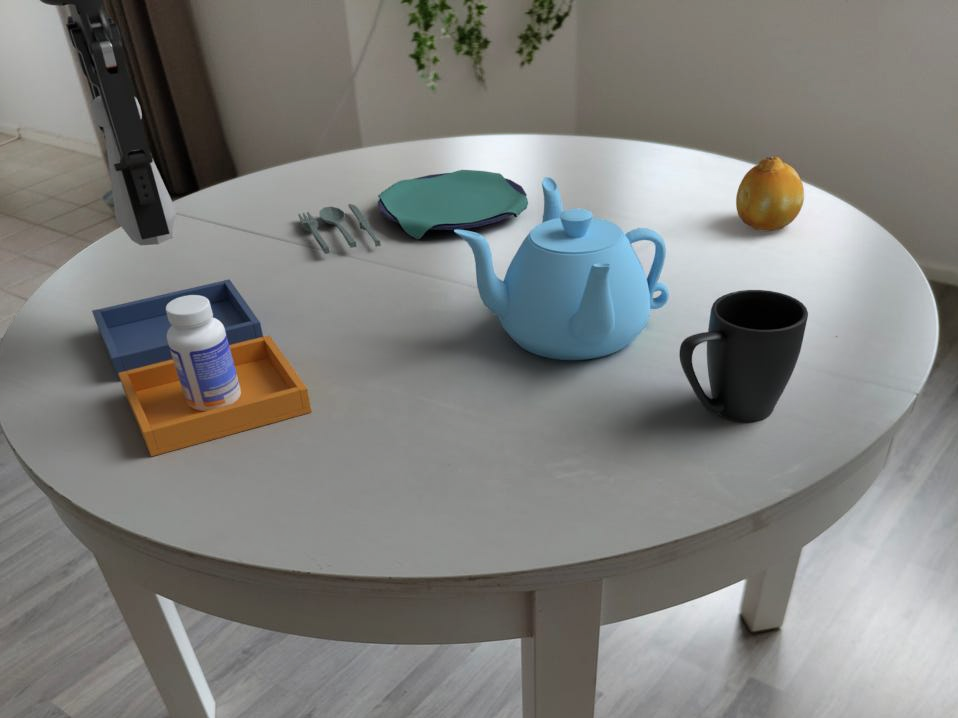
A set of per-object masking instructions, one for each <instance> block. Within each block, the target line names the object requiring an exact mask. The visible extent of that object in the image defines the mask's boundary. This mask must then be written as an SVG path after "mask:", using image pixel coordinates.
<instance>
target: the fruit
mask: <svg viewBox="0 0 958 718" xmlns="http://www.w3.org/2000/svg"><path fill="white" fill-rule="evenodd" d="M804 200H805V190H804V184H803V181H802V179H801V177H800V175H799V173H798V172H797V171H796V170H795V168H794V167H792V166H791V165H790V164H788V163H786V162H783V161H782V160H781V158H780V157H778V156H774V157H773V156H770V157H766V158H764V159H761V160H760V161H759V162H758V164H756V165H754V166H753V167H751V168H750V169H749V170H748V171H747V172H746V173H745V175H744V176H743V178H742V179H741V181H740V184H739V186H738V189H737V191H736V197H735V207H736V208H735V209H736V211H737V215H738V216H739V218H740V220H741V221H742V222H743V223H744V224H745V225H747V226H748V227H750V228H752V229H753V230H756V231H761V232H772V231H776V230H777V231H778V230H781V229H784V228H785V227H787V226H789V225H790V224H792V222H794V220H795V219H796V218H797V217H798V215H799V214H800V212H801V210H802V207H803V205H804Z"/></svg>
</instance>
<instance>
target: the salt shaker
mask: <svg viewBox="0 0 958 718" xmlns="http://www.w3.org/2000/svg"><path fill="white" fill-rule="evenodd" d="M135 100H136V104H137V107H138V111H139V115H140V118H141V120H142V118H143V117H142V116H143V114H142V109H141V105H140V103H139V101H138V98H137V97H135ZM90 106H91V113H92V115H93V119H94V121H95V122H96V124H97V125H98V127H99V126H101V127H104V130H105V134H104V135H105V138H106V141H105V146H106V153H107V154H106V155H107V161H108V169H109V176H110V177H109V178H110V185H111V192H112V200H113V206H114V207H113V208H114V216H115V219H116V221H117V223H118V224H119V226H120V227H121V228H122V229H123V231H124V232H125V233H126V235H127V236H128V238H129V239H130V241H132V242H133V243H135V244H137V245H139V246H153V245H160V244H163V243H164V242H167V241H169V240H171V239H173V234H174V233H173V232H174V226H175V221H176V216H177V211H176V207H175V205H174V203H173V200H172V198H171V195H170V194H169V192H168V189H167V186H166V185H165V183H164V180H163V178H162V176H161V173H160V171H159V169H158V168H157V165H156V163H155V160H153V161H152V163H151V167H152V171H153V174H154V178H155V182H156V185H157V189H158V193H159V196H160V200H161V203H162V207H163V211H164V214H165V218H166V222H167V225H168V229H169V233H170V234H167V235H162V236H157V237H153V238H148V239H143V240H142V238H141V235H140V232H139V229H138V225H137V222H136V219H135V215H134V212H133V208H132V205H131V202H130V198H129V195H128V191H127V188H126V185H125V181H124V178H123V175H122V171H116V170H115V167H114V164H117V163H120V156H119V153H118V150H117V147H116V144H115V141H114V138H113V134H112V131H111V128H110V125H109V122H108V119H107V116H106V113H105V109H104V106H103V103H102V100H101V97H100V96H98V97H96V98H95V99H94V100H92V102H91V104H90ZM105 138H104V139H105ZM135 151H136V150H135ZM130 152H131V151H130Z"/></svg>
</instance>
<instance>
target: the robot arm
mask: <svg viewBox="0 0 958 718" xmlns="http://www.w3.org/2000/svg"><path fill="white" fill-rule="evenodd" d="M39 2H41V3H43V4H45V5H49V6H57V7H59V6H60V7H61V6H62V7H63V6H66V5H68V8H69V12H70V15H68V16H67V23H66V24H65V26H66V30H67V34H68V38H69V39H70V42H71V43H72V46H73V47H74V49H75V52H76V55H77V59H78V62H79V63H78V64H79V67H80V68H81V71H82V73H83V75H84V76H85V80H86V82H87V86H88V89H89V93H90V96H91V100H92V101H93V100H94V99H95V98H96V97H98V96H100V97H101V100H102V103H103V106H104V109H105V113H106V116H107V119H108V122H109V125H110V128H111V131H112V134H113V138H114V141H115V144H116V147H117V150H118V153H119V156H120V163H117V164H114V167H115V170H116V171H122V175H123V178H124V181H125V185H126V188H127V191H128V195H129V198H130V202H131V205H132V208H133V212H134V215H135V219H136V222H137V225H138V229H139V232H140V235H141V238H142V240H143V239H148V238H153V237H157V236H162V235H167V234H170V233H169V229H168V225H167V222H166V218H165V214H164V211H163V207H162V203H161V200H160V196H159V193H158V189H157V185H156V182H155V178H154V174H153V171H152V167H151V163H152V161H154V157H153V154H152V152H151V149H150V147H149V143H148V140H147V136H146V133H145V130H144V125H143V122H142V119H141V118H140V115H139V111H138V107H137V104H136V100H135V98H136V96H135V94H134V89H133V86H132V83H131V79H130V71H129V69H128V66H127V63H126V59H125V56H124V52H123V51H124V46H123V39H122V36H121V33H120V28H119V27H118V24H117V22H113V19H112V17H108V16H107V13H106V10H105V8H104V4H103V3H104V2H106V0H39ZM98 128H99V130H100V131H101V133H102V134H104V135H103V139H104V141H105V142H106V138H105V130H104V127H101V126H99V125H98ZM135 150H136V151H135ZM130 151H131V152H130Z"/></svg>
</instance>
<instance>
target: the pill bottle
mask: <svg viewBox="0 0 958 718" xmlns="http://www.w3.org/2000/svg"><path fill="white" fill-rule="evenodd" d="M166 313H167V316H168V321H169V322H170V324H171V325H172V326H171V327H170V328H169V330H168V332H167V341H168V345H169V348H170V351H171V355H172V358H173V361H174V364H175V368H176V371H177V374H178V377H179V381H180V384H181V387H182V390H183V394H184V397H185V400H186V402H187V404H188V405H189V406H190V407H191V408H193V409H196V410H199V411H209V410H212V409H216V408H220V407H224V406H227V405H231V404H234V403H235V402H236V401H237V400H238V399H239V397H240V395H241V389H240V385H239V381H238V377H237V374H236V370H235V366H234V362H233V359H232V355H231V351H230V347H229V343H228V339H227V335H226V332H225V328H224V326H223V324H222V323H221V322H220V321H219V320H217V319H216V318H213V313H212V309H211V305H210V302H209V300H208V299H207V298H206V297H204V296H200V295H188V296H182V297H179V298H176V299H174V300H172V301H171V302H169V303H168V304H167V306H166Z"/></svg>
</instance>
